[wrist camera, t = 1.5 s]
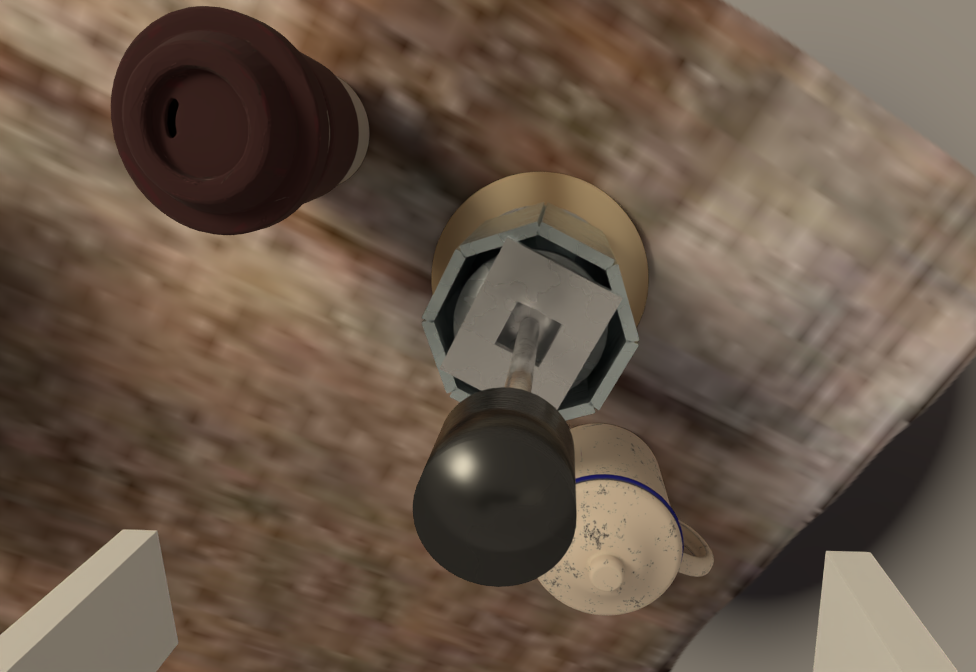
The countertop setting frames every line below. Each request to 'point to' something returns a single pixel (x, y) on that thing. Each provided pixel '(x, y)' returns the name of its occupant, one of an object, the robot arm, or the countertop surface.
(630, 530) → the teacup with lid
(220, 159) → the coffee cup
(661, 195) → the countertop surface
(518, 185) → the cork trivet
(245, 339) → the countertop surface
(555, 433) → the plunger
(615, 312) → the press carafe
